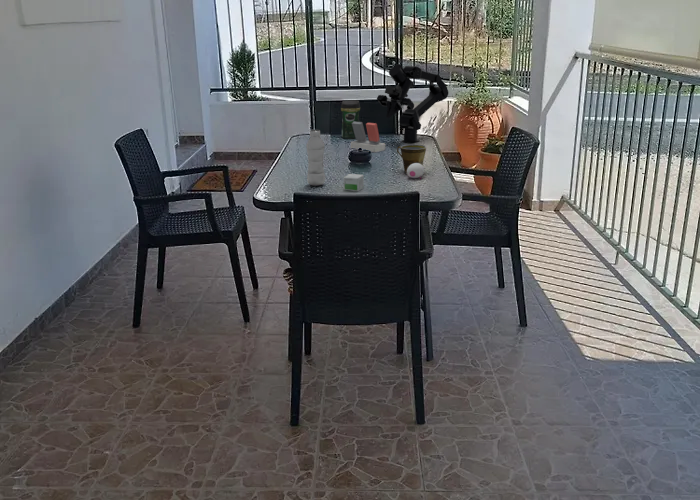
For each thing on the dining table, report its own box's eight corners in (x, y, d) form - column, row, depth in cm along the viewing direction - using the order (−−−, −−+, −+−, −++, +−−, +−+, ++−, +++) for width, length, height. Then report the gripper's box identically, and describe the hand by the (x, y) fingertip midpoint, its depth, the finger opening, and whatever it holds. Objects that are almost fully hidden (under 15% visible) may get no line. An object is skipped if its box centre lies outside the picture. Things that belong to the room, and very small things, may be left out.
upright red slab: (371, 141, 297) (368, 122, 292) (380, 142, 294) (376, 123, 289) (369, 143, 296) (365, 124, 291) (377, 144, 293) (374, 125, 288)
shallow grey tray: (360, 146, 305) (360, 139, 304) (385, 150, 296) (385, 143, 295) (350, 148, 301) (350, 141, 300) (375, 152, 291) (375, 145, 290)
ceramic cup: (430, 171, 255) (431, 146, 251) (415, 176, 248) (415, 150, 245) (404, 166, 263) (405, 142, 260) (389, 171, 256) (389, 146, 253)
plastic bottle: (307, 183, 240) (305, 129, 233) (325, 182, 240) (323, 128, 233) (307, 187, 234) (305, 132, 227) (326, 187, 234) (324, 131, 227)
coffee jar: (361, 136, 330) (360, 99, 323) (360, 139, 322) (359, 101, 316) (342, 136, 331) (341, 99, 324) (340, 139, 323) (340, 101, 317)
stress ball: (416, 183, 250) (409, 168, 251) (431, 174, 245) (423, 159, 245) (404, 186, 245) (397, 171, 246) (419, 177, 239) (411, 161, 240)
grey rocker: (358, 139, 302) (354, 121, 297) (366, 140, 299) (362, 122, 294) (356, 141, 301) (351, 123, 296) (364, 142, 298) (359, 124, 293)
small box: (343, 190, 230) (343, 176, 228) (349, 186, 235) (349, 173, 233) (358, 191, 228) (358, 178, 226) (364, 187, 233) (364, 174, 231)
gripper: (378, 77, 301) (363, 105, 298) (410, 80, 289) (395, 109, 286) (389, 91, 309) (375, 118, 306) (421, 95, 297) (406, 123, 295)
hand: (387, 117), depth 298 cm, fingers closed
